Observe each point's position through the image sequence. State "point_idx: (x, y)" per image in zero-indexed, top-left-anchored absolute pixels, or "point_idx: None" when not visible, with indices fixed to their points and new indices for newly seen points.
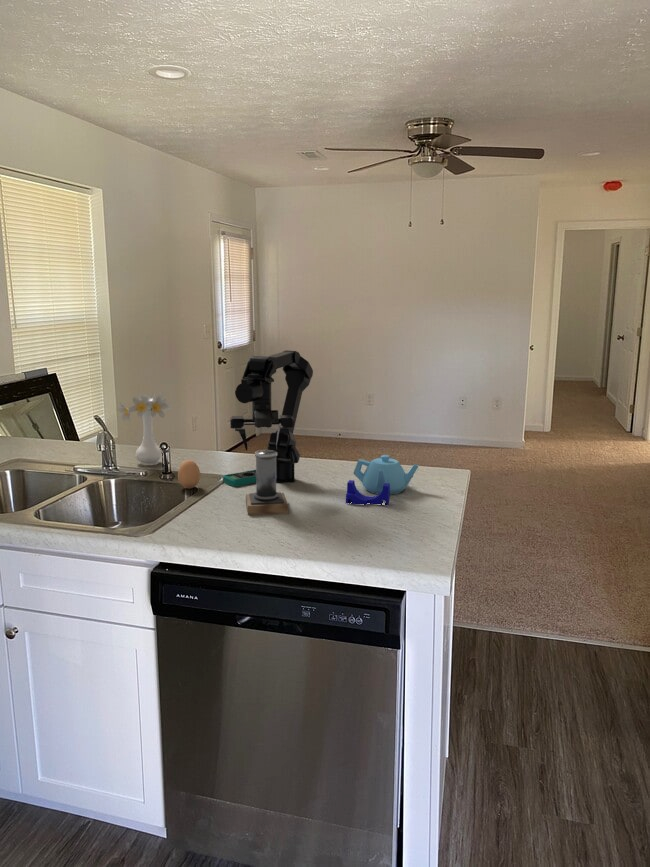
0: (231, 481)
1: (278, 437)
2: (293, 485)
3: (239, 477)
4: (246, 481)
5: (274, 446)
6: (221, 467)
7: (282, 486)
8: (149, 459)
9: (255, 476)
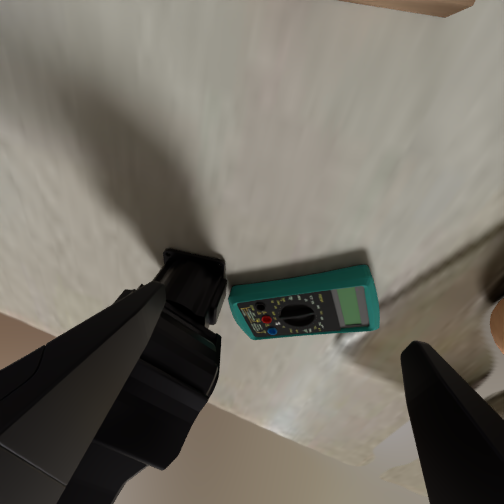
0: (374, 284)
1: (52, 381)
2: (173, 218)
3: (334, 303)
4: (317, 279)
5: (182, 375)
6: (322, 389)
7: (210, 220)
8: None
9: (282, 294)
